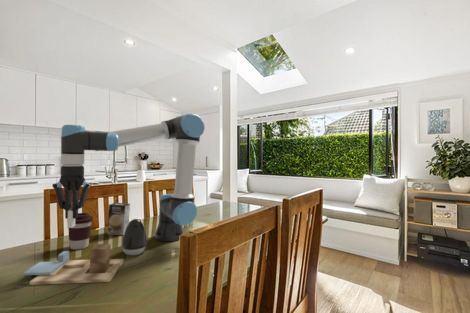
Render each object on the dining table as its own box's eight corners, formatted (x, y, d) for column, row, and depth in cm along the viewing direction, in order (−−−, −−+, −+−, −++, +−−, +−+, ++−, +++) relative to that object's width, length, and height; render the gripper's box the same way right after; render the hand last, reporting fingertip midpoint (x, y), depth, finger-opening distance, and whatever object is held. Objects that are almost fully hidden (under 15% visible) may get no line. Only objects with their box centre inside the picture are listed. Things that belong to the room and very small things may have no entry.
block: (109, 267, 92) (110, 243, 92) (104, 274, 87) (105, 248, 87) (95, 268, 91) (96, 244, 91) (89, 274, 86) (90, 249, 86)
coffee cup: (79, 252, 106) (81, 217, 106) (60, 249, 108) (61, 215, 108) (96, 244, 115) (98, 213, 115) (78, 242, 117) (80, 211, 117)
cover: (68, 259, 94) (68, 251, 94) (49, 274, 82) (50, 265, 82) (45, 259, 93) (45, 251, 93) (23, 275, 81) (23, 265, 81)
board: (123, 262, 98) (123, 258, 98) (109, 283, 82) (109, 278, 82) (57, 264, 94) (57, 260, 94) (29, 286, 78) (29, 281, 78)
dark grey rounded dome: (121, 260, 100) (123, 223, 100) (120, 250, 109) (122, 217, 109) (147, 256, 105) (149, 221, 105) (144, 247, 114) (146, 215, 114)
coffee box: (106, 234, 130) (108, 204, 130) (113, 231, 136) (114, 202, 137) (123, 235, 130) (124, 205, 130) (129, 231, 136) (130, 203, 136)
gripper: (95, 165, 98) (93, 223, 98) (59, 164, 96) (58, 224, 96) (86, 166, 91) (85, 229, 91) (48, 165, 88) (46, 230, 89)
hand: (71, 226), depth 93 cm, fingers closed
